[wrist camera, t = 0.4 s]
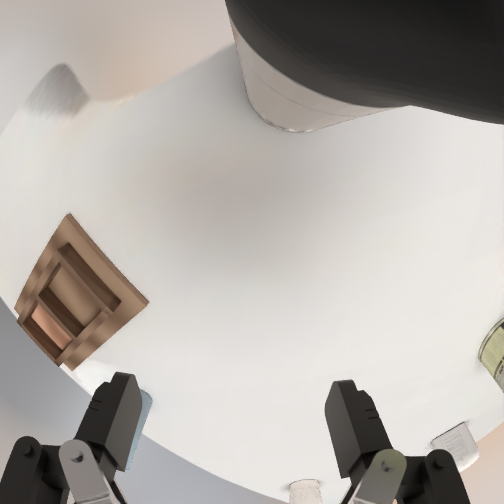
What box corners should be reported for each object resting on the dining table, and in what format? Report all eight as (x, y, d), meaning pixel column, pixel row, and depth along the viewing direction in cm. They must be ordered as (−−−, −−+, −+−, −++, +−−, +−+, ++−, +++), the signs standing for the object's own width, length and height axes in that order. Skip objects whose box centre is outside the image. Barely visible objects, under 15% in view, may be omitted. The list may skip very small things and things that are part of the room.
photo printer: (429, 446, 45) (444, 482, 34) (430, 440, 44) (445, 478, 32) (463, 426, 44) (480, 460, 32) (465, 419, 42) (484, 454, 31)
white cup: (298, 490, 51) (300, 521, 42) (281, 484, 49) (282, 517, 40) (325, 482, 49) (330, 514, 40) (310, 475, 47) (314, 511, 38)
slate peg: (125, 384, 36) (95, 449, 24) (151, 392, 37) (126, 461, 25) (128, 401, 38) (102, 462, 26) (153, 408, 38) (131, 472, 26)
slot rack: (70, 213, 27) (52, 221, 24) (149, 302, 31) (138, 318, 27) (17, 305, 32) (5, 316, 29) (74, 367, 36) (65, 381, 33)
